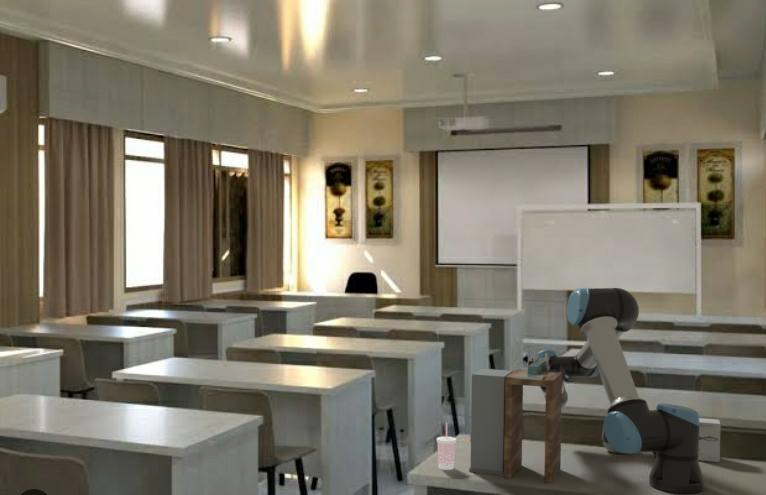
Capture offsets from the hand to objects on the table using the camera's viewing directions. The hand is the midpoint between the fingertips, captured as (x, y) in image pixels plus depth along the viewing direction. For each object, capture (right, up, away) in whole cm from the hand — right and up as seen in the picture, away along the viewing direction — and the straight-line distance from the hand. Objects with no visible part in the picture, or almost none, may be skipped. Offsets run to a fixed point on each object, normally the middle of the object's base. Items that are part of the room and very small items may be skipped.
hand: (540, 356), depth 270 cm
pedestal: (-16, -34, -2) cm, 37 cm away
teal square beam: (-2, -4, -5) cm, 7 cm away
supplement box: (+56, -35, +12) cm, 67 cm away
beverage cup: (-29, -34, -2) cm, 45 cm away
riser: (-4, -34, -8) cm, 35 cm away
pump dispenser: (+29, -34, +20) cm, 49 cm away
